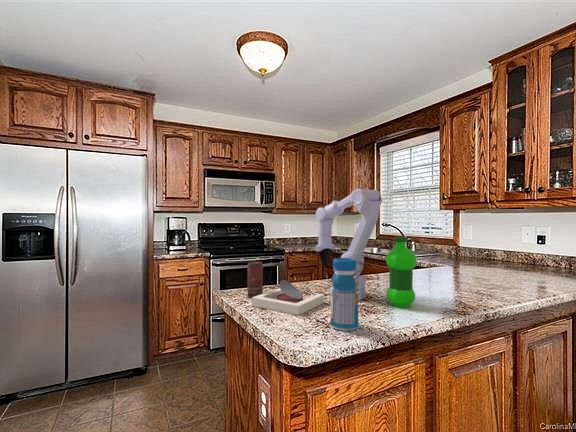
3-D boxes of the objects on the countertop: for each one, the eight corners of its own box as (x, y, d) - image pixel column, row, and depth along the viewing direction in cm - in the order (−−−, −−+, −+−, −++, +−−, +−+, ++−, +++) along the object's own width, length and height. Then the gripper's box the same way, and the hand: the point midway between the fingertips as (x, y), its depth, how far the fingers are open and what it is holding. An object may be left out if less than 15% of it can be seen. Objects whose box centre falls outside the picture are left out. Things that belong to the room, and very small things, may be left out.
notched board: (324, 302, 121) (324, 294, 121) (298, 315, 106) (298, 306, 106) (281, 294, 132) (281, 287, 132) (251, 305, 117) (251, 297, 117)
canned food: (292, 312, 125) (302, 288, 127) (302, 317, 115) (313, 291, 118) (267, 301, 121) (278, 276, 124) (275, 305, 112) (287, 278, 115)
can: (260, 299, 126) (260, 263, 126) (245, 298, 127) (245, 262, 127) (265, 295, 132) (265, 261, 132) (250, 294, 133) (250, 260, 133)
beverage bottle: (340, 333, 90) (340, 262, 90) (324, 324, 97) (324, 258, 97) (364, 329, 93) (365, 260, 93) (348, 320, 101) (348, 256, 101)
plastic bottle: (403, 311, 110) (404, 238, 110) (380, 304, 119) (380, 236, 119) (422, 306, 116) (422, 237, 115) (398, 300, 124) (398, 235, 124)
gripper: (324, 234, 149) (324, 263, 150) (308, 235, 137) (308, 267, 137) (338, 234, 145) (338, 264, 146) (323, 236, 133) (323, 269, 134)
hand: (324, 266), depth 141 cm, fingers closed
